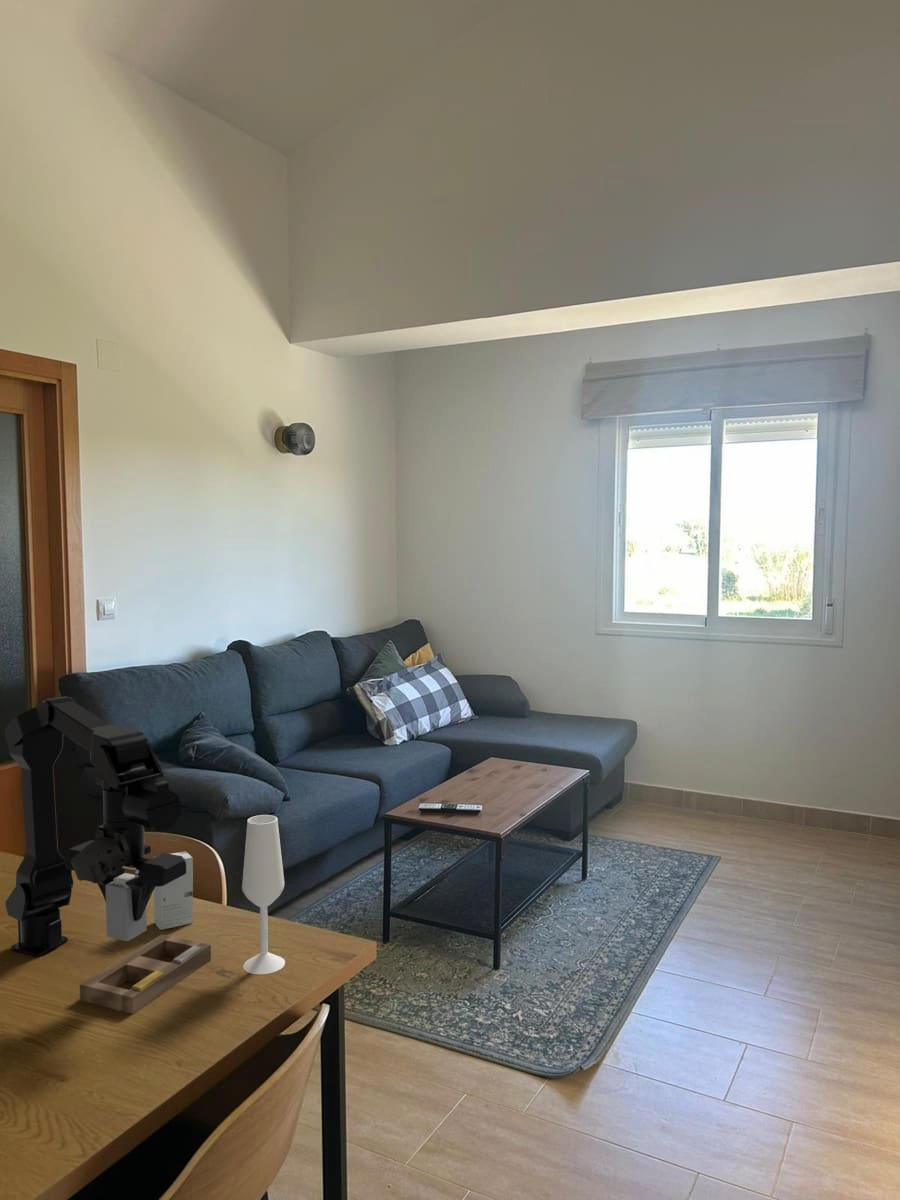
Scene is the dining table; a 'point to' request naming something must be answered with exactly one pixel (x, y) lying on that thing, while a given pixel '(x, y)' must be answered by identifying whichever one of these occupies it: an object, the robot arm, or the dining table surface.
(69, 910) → the dining table surface
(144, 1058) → the dining table surface
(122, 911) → the plug
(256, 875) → the champagne flute
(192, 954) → the brown wooden flat frame
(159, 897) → the skincare box
